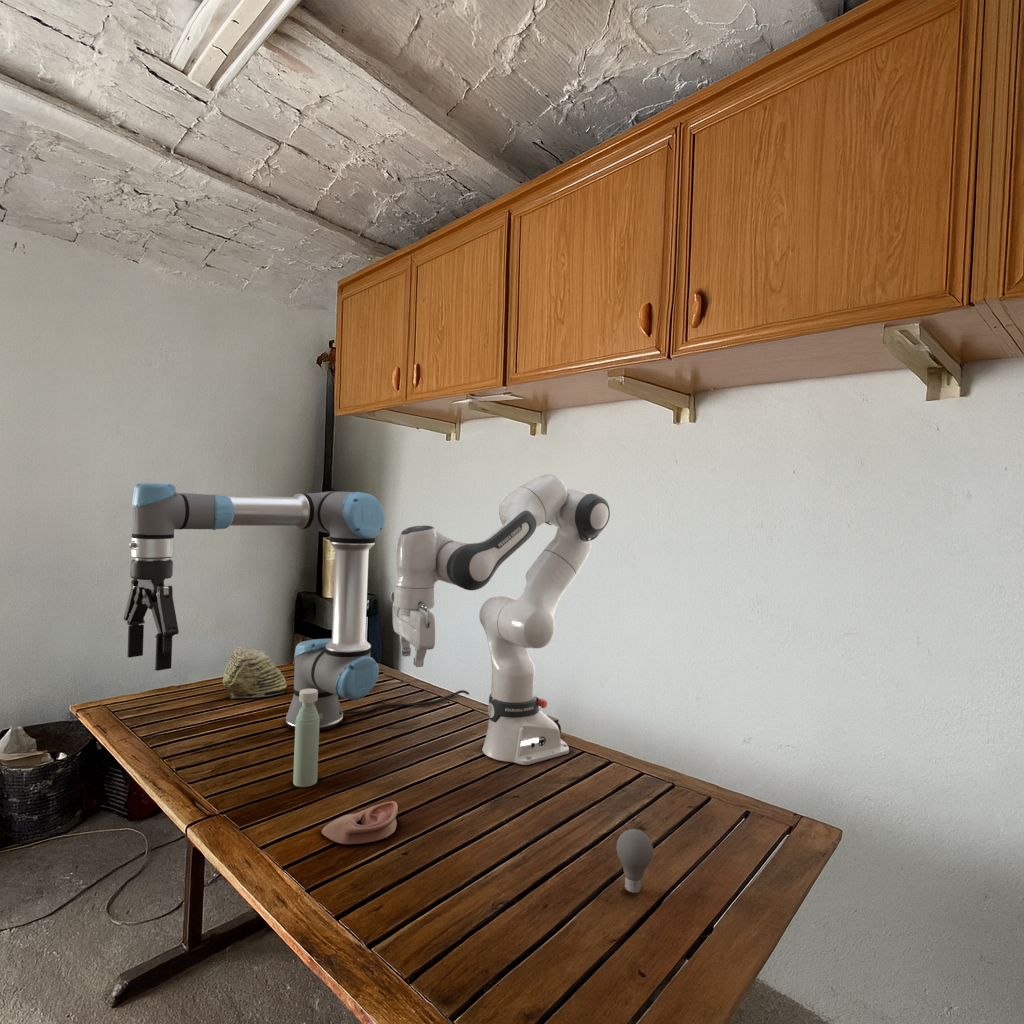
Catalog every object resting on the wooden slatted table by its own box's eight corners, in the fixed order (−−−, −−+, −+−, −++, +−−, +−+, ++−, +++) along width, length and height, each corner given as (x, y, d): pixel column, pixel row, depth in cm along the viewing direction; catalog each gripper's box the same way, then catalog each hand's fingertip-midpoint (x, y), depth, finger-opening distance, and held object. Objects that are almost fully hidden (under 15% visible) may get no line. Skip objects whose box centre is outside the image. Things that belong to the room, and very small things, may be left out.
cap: (303, 697, 142) (303, 687, 142) (320, 698, 142) (320, 689, 142) (296, 702, 138) (296, 693, 138) (313, 703, 138) (313, 694, 138)
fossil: (218, 695, 195) (220, 647, 195) (278, 685, 208) (279, 640, 207) (228, 703, 189) (230, 653, 188) (289, 692, 201) (290, 645, 201)
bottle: (299, 776, 143) (302, 688, 143) (320, 778, 143) (324, 690, 142) (289, 786, 138) (292, 695, 138) (311, 788, 138) (315, 697, 137)
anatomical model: (313, 818, 117) (342, 790, 128) (313, 839, 117) (341, 810, 128) (381, 829, 114) (404, 800, 125) (380, 850, 114) (403, 819, 125)
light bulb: (610, 879, 108) (613, 822, 108) (644, 879, 109) (647, 822, 109) (619, 902, 102) (622, 840, 102) (655, 901, 103) (658, 840, 103)
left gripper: (108, 554, 134) (104, 654, 134) (159, 565, 118) (155, 678, 119) (146, 552, 140) (143, 648, 140) (199, 563, 124) (195, 671, 124)
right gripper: (444, 606, 132) (441, 672, 133) (414, 591, 151) (412, 649, 151) (415, 607, 130) (412, 674, 130) (388, 592, 148) (386, 651, 148)
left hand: (148, 662), depth 129 cm, fingers open, 13 cm apart
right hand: (411, 660), depth 141 cm, fingers open, 8 cm apart
